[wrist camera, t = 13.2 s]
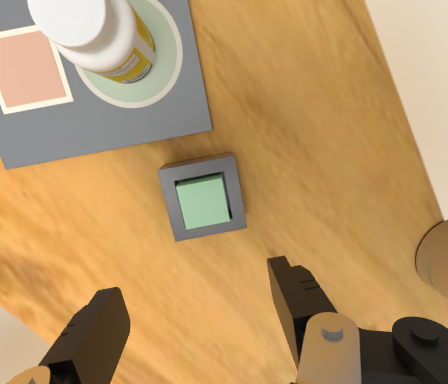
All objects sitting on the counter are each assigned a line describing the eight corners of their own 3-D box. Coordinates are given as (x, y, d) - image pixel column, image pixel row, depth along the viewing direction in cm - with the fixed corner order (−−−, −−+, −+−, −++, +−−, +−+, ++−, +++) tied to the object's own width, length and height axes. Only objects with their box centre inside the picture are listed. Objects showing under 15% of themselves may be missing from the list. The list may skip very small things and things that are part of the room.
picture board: (175, -62, 23) (173, -74, 21) (212, 129, 27) (212, 130, 25) (-58, -17, 23) (-75, -26, 21) (14, 167, 27) (4, 170, 25)
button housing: (231, 151, 27) (234, 155, 24) (242, 215, 29) (247, 227, 26) (164, 164, 27) (157, 170, 24) (179, 227, 29) (175, 241, 26)
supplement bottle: (100, 6, 22) (19, -80, 13) (164, 30, 23) (132, -35, 14) (87, 72, 23) (5, 39, 14) (148, 93, 24) (108, 75, 15)
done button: (220, 173, 25) (221, 178, 23) (228, 212, 26) (230, 221, 24) (179, 181, 25) (175, 186, 23) (188, 220, 26) (186, 229, 24)
